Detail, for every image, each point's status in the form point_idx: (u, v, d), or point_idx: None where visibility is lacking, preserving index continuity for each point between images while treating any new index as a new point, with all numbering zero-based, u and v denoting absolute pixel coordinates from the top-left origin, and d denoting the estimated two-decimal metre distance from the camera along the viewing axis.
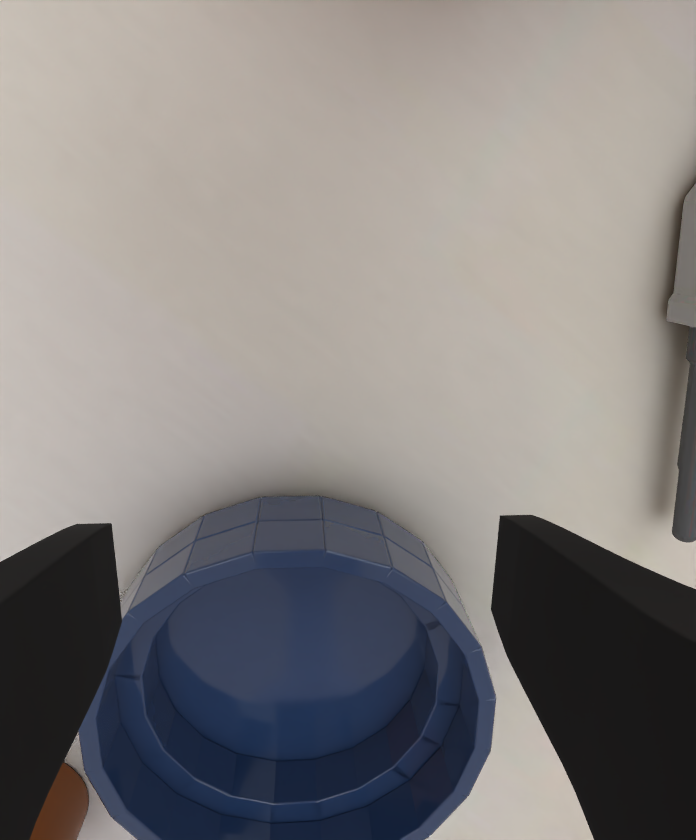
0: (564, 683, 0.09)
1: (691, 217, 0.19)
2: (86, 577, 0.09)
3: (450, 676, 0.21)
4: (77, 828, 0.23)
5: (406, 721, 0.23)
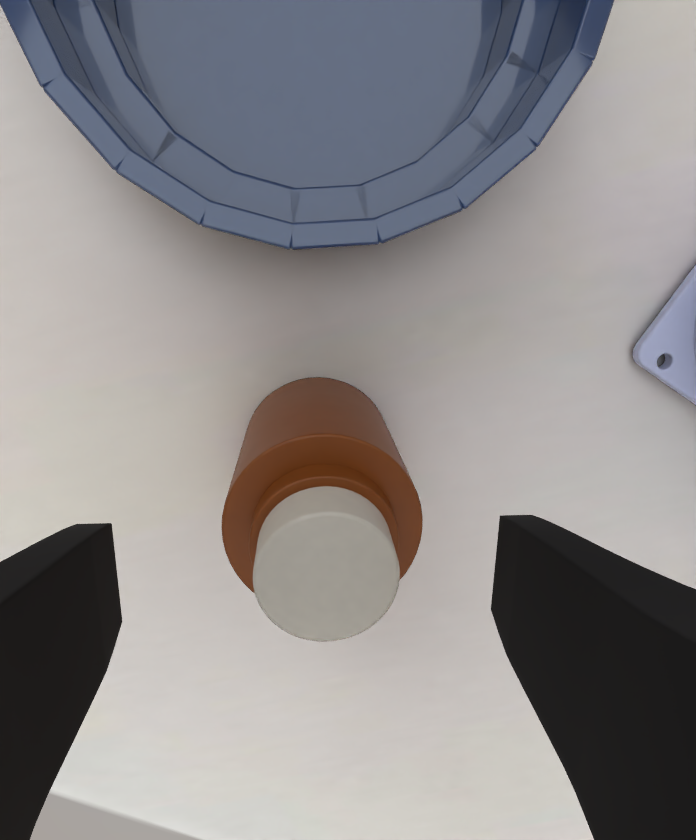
0: (564, 683, 0.09)
1: None
2: (86, 577, 0.09)
3: None
4: (364, 401, 0.18)
5: None
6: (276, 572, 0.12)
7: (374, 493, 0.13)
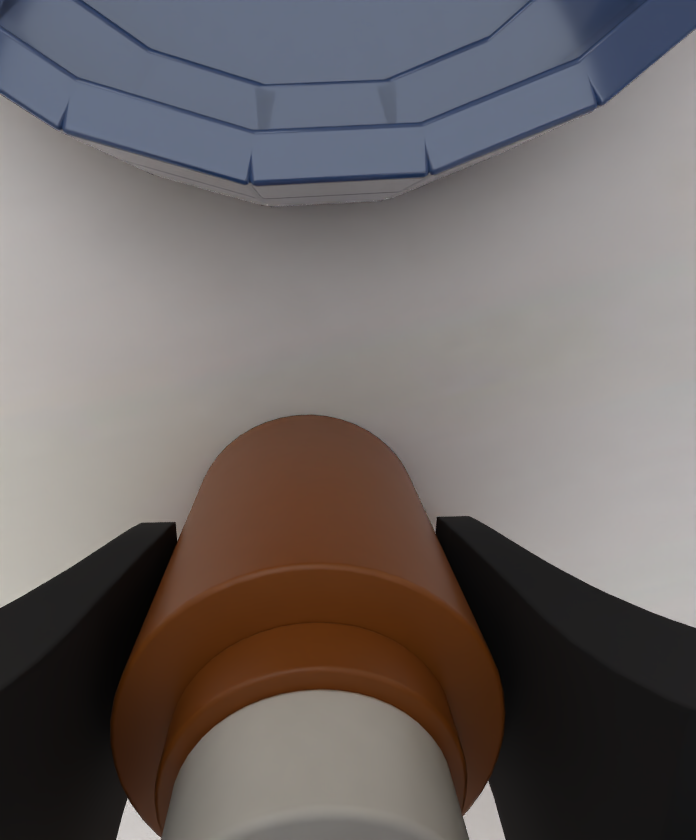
0: None
1: None
2: (158, 575, 0.09)
3: None
4: (383, 457, 0.11)
5: None
6: None
7: (420, 699, 0.06)
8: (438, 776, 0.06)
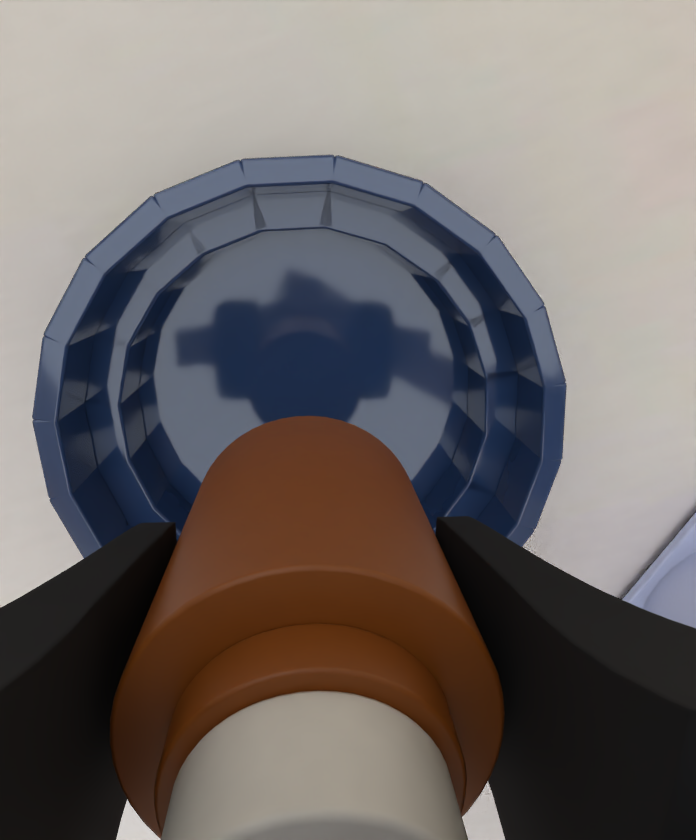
0: None
1: None
2: (158, 575, 0.09)
3: (411, 239, 0.15)
4: (383, 458, 0.11)
5: (462, 335, 0.18)
6: None
7: (419, 700, 0.06)
8: (437, 777, 0.06)
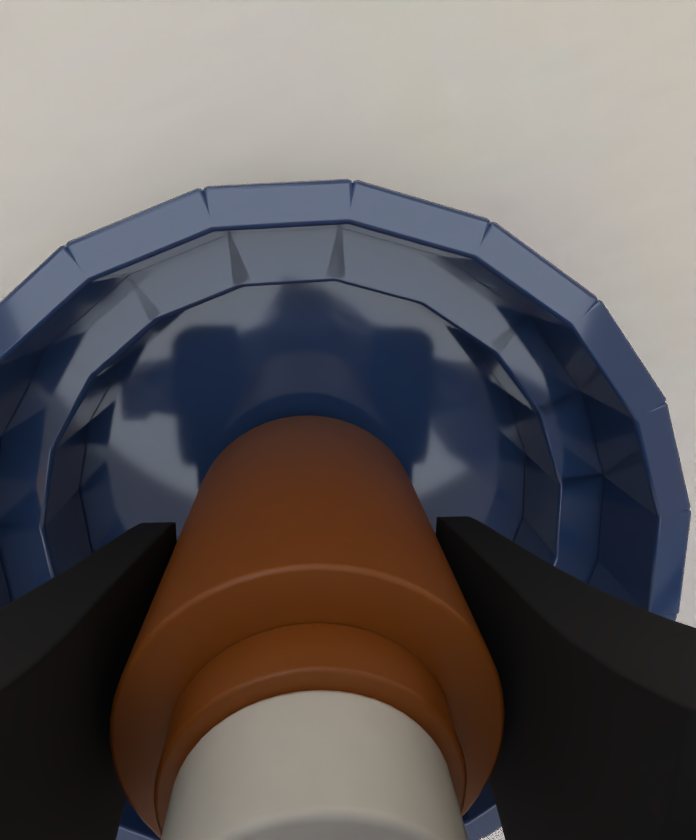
0: None
1: None
2: (158, 575, 0.09)
3: (458, 295, 0.11)
4: (383, 457, 0.11)
5: (523, 418, 0.13)
6: None
7: (419, 700, 0.06)
8: (437, 776, 0.06)
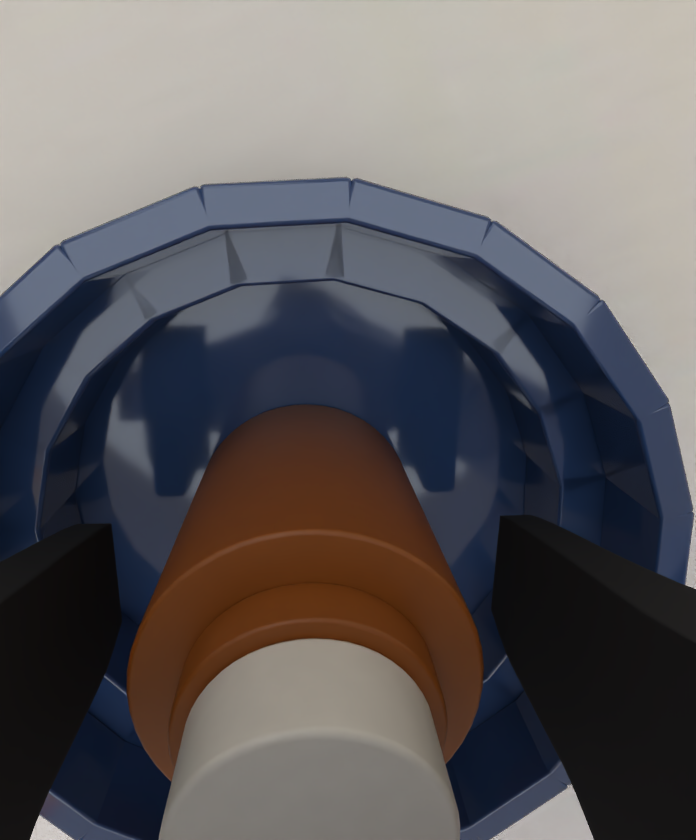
0: (564, 683, 0.09)
1: None
2: (86, 577, 0.09)
3: (459, 295, 0.11)
4: (376, 443, 0.12)
5: (523, 419, 0.13)
6: None
7: (404, 648, 0.07)
8: (419, 712, 0.06)
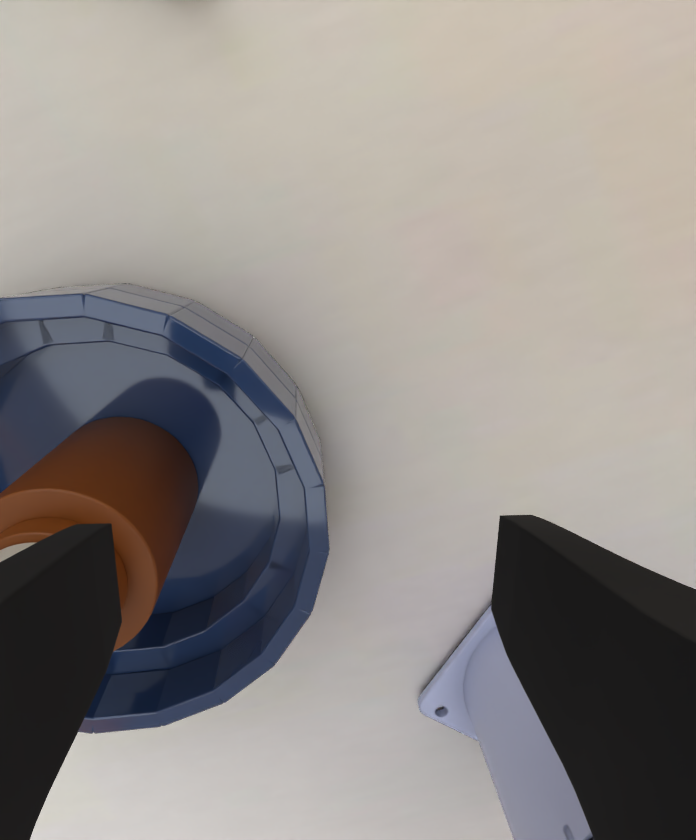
0: (564, 683, 0.09)
1: None
2: (86, 577, 0.09)
3: None
4: (156, 442, 0.18)
5: None
6: None
7: None
8: None
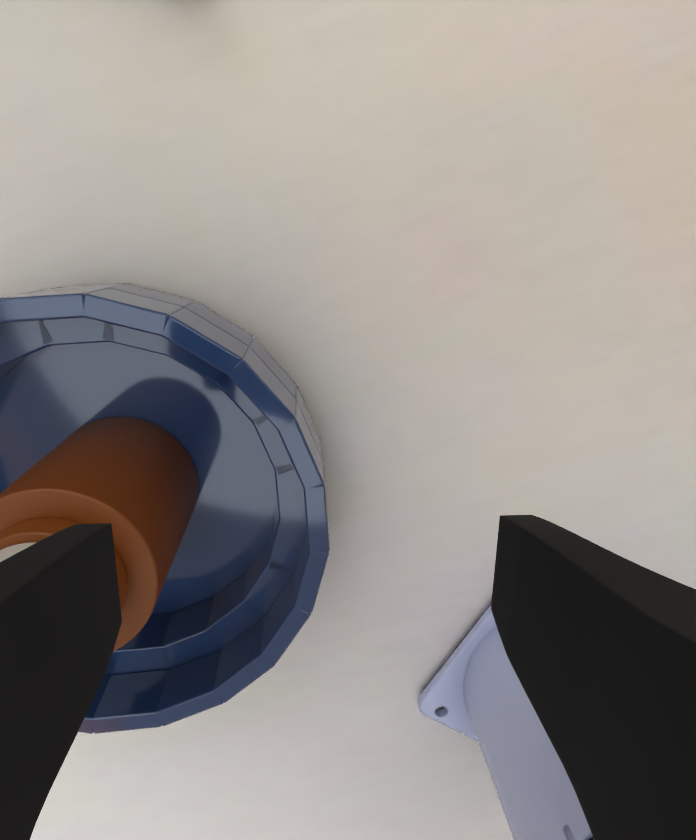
0: (564, 683, 0.09)
1: None
2: (86, 577, 0.09)
3: None
4: (156, 442, 0.18)
5: None
6: None
7: None
8: None
